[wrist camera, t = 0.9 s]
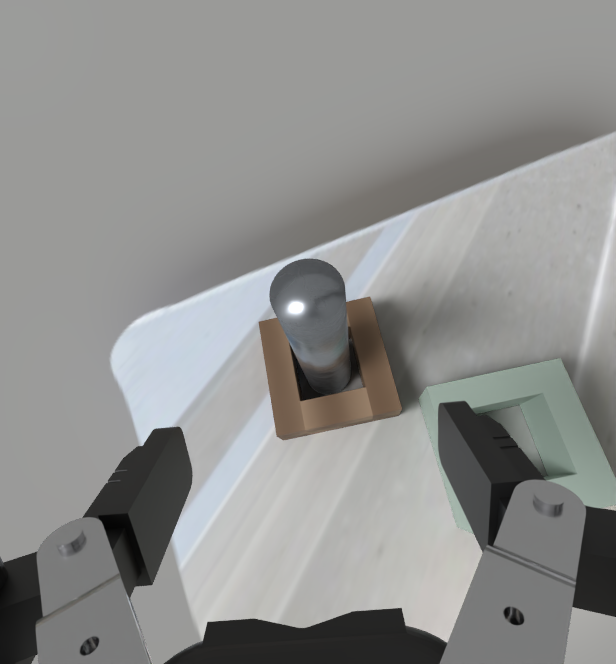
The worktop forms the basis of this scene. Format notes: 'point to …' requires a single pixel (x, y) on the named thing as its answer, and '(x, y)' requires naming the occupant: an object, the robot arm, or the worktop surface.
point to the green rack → (533, 427)
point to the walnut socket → (337, 408)
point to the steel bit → (314, 321)
